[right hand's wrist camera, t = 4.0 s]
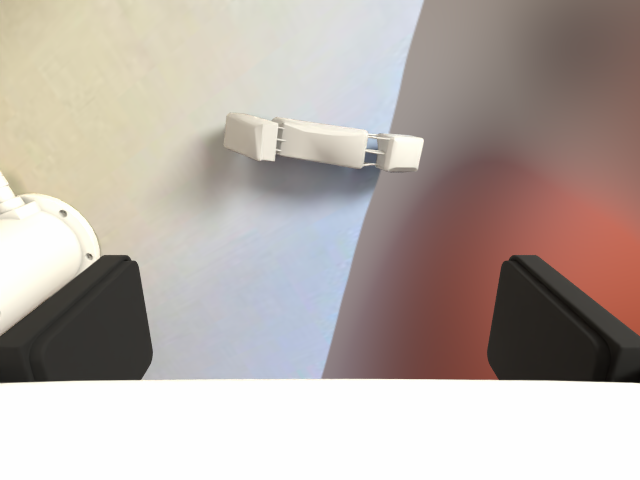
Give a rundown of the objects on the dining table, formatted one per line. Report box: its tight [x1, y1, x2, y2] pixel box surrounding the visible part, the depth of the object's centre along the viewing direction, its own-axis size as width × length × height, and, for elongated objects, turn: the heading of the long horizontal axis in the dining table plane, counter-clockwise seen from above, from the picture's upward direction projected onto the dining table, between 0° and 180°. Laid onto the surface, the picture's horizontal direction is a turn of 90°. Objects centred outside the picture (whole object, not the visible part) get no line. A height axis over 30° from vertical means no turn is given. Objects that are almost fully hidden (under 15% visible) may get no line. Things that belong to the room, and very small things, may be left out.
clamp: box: [224, 113, 424, 172], centre depth 41 cm, size 20×4×7 cm, turn 83°
